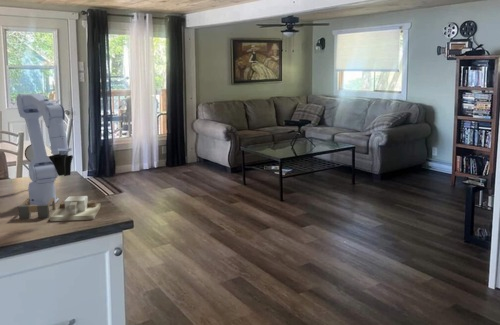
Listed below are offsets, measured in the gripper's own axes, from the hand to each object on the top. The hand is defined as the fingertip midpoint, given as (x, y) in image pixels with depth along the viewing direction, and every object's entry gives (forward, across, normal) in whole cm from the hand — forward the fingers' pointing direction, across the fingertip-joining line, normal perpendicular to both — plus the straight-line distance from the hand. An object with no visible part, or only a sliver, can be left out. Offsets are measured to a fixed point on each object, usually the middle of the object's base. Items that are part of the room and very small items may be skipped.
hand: (64, 175), depth 171 cm
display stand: (+14, +7, 0) cm, 16 cm away
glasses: (+12, +9, +14) cm, 20 cm away
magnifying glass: (+1, +48, +23) cm, 53 cm away
